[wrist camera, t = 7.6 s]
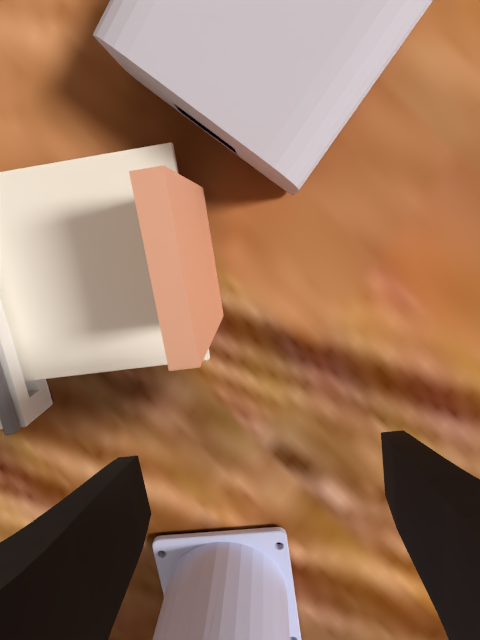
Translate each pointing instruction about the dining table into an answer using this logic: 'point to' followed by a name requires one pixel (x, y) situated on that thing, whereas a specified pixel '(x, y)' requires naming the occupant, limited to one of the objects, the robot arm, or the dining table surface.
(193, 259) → the cream boxy piece
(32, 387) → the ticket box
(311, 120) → the charger
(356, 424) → the dining table surface
